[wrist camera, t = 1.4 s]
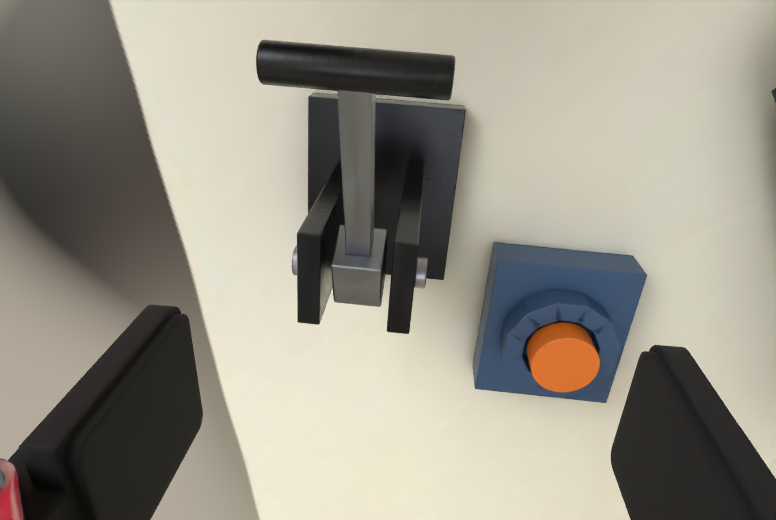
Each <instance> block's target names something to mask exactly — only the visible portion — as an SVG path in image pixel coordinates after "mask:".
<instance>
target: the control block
mask: <svg viewBox="0 0 776 520" xmlns="http://www.w3.org/2000/svg"><path fill="white" fill-rule="evenodd" d="M646 277H647V275H646V273H645V272H644V270H643V269H642V268H641V266H640V265H639V264H638V262H637V261H636V259H635V258H634V257H633V256H628V255H618V254H607V253H597V252H587V251H576V250H566V249H556V248H545V247H535V246H525V245H514V244H504V243H494V244H493V250H492V256H491V262H490V267H489V273H488V279H487V285H486V291H485V296H484V302H483V308H482V314H481V320H480V325H479V331H478V337H477V343H476V349H475V355H474V360H473V374H474V385H475V389H482V390H491V391H500V392H510V393H519V394H528V395H537V396H546V397H556V398H565V399H574V400H583V401H593V402H602V403H606V401H607V398H608V395H609V392H610V389H611V386H612V383H613V380H614V376H615V373H616V370H617V367H618V364H619V361H620V358H621V355H622V351H623V348H624V345H625V342H626V339H627V336H628V333H629V330H630V326H631V323H632V320H633V317H634V314H635V311H636V308H637V305H638V302H639V298H640V295H641V292H642V289H643V286H644V283H645V280H646ZM557 322H568V323H572V324H576V325H578V326H580V327H582V328H583V329H584V330H586V331H587V333H588V334H589V335H590V337H591V339H592V341H593V344H594V346H595V348H596V350H597V353H598V355H599V358H600V367H599V371H598V373H597V375H596V377H595V378H594V379H593V380H592V381H591V382H590V383H589V384H588V385H586V386H585V387H583V388H581V389H578V390H576V391H572V392H554V391H551V390H548V389H546V388H544V387H542V386H541V385H539V384H538V383H537V382H536V380H535V379H534V377H533V375H532V373H531V368H530V364H529V360H528V356H527V345H528V342H529V340H530V338H531V337H532V336H533V334H534V333H535V332H536V331H538V330H539V329H540V328H542V327H544V326H546V325H548V324H552V323H557Z"/></svg>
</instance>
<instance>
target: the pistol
mask: <svg viewBox="0 0 776 520" xmlns="http://www.w3.org/2000/svg"><path fill="white" fill-rule="evenodd" d="M771 92H772V94H773V97H774V99H775V102H776V88H775V89H773V90H772V91H771Z"/></svg>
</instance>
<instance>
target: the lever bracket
mask: <svg viewBox="0 0 776 520" xmlns="http://www.w3.org/2000/svg"><path fill="white" fill-rule="evenodd" d="M465 112H466V110H465V106H462V105H451V104H439V103H427V102H416V101H404V100H393V99H381V98H375V175H374V228H377V229H386V230H387V231H388V237H387V262H386V273H385V274H388V275H391V285H390V297H389V309H388V321H387V332H395V333H404V334H409V330H410V321H411V311H412V301H413V292H414V287H416V288H425V283H426V278H428V279H438V280H443V279H444V273H445V265H446V257H447V250H448V242H449V235H450V227H451V219H452V212H453V204H454V196H455V189H456V181H457V173H458V166H459V158H460V151H461V143H462V135H463V128H464V120H465ZM340 225H344V206H343V187H342V167H341V148H340V129H339V109H338V95H335V94H323V93H312V94H311V95H310V96H309V104H308V215H307V217H306V219H305V221H304V222H303V224H302V226H301V228H300V229H299V231H298V233H297V245H296V247H295V249H294V252H293V258H292V272H293V274H294V275H297V297H298V322H300V323H309V324H320V321H321V318H322V315H323V313H324V310H325V307H326V304H327V301H328V298H329V296H330V293H331V290H332V287H333V285H332V273H331V262H332V258H333V253H334V248H335V244H336V239H337V234H338V230H339V226H340Z"/></svg>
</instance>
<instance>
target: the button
mask: <svg viewBox="0 0 776 520" xmlns="http://www.w3.org/2000/svg"><path fill="white" fill-rule="evenodd" d="M527 356H528V360H529V364H530V368H531V373H532V375H533V377H534V379H535V380H536V382H537V383H538V384H539V385H541V386H542V387H544V388H546V389H548V390H551V391H554V392H572V391H576V390H578V389H581V388H583V387H585V386H586V385H588V384H589V383H590V382H591V381H592V380H593V379H594V378H595V377H596V375H597V373H598V371H599V367H600V358H599V355H598V353H597V350H596V348H595V346H594V344H593V341H592V339H591V337H590V335H589V334H588V333H587V331H586V330H584V329H583V328H582V327H580V326H578V325H576V324H572V323H568V322H557V323H552V324H548V325H546V326H544V327H542V328H540V329H539V330H538V331H536V332H535V333H534V334H533V336H532V337H531V338H530V340H529V342H528V345H527Z"/></svg>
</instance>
